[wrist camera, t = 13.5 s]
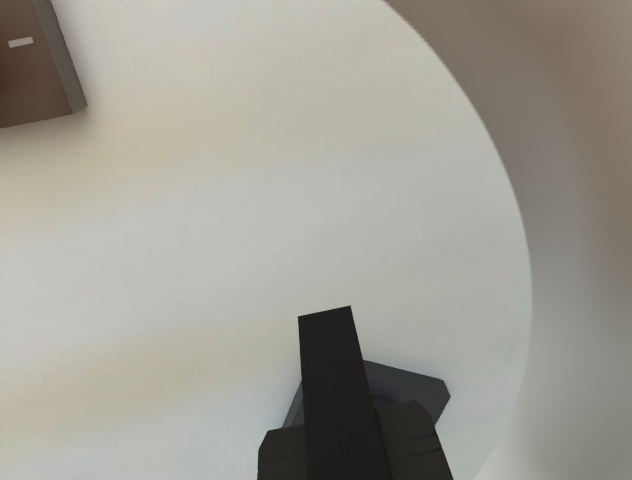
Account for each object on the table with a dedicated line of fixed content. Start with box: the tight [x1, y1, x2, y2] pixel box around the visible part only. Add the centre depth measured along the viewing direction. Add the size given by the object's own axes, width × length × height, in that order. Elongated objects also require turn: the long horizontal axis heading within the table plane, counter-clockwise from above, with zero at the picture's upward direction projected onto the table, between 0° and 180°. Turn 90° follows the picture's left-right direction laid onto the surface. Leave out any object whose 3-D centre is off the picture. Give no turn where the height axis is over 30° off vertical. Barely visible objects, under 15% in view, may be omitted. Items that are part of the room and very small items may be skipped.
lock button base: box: [282, 360, 451, 428], centre depth 46 cm, size 12×10×4 cm
